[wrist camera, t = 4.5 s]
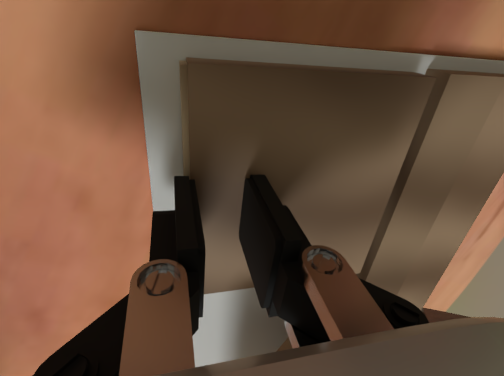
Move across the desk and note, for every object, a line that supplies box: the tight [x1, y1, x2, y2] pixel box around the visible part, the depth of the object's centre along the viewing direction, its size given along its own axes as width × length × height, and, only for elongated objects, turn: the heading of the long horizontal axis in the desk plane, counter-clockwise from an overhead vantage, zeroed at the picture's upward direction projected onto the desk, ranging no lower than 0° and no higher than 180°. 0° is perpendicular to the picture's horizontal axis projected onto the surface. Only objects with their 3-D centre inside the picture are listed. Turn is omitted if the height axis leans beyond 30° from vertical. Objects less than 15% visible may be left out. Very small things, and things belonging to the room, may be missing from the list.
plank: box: [179, 57, 436, 294], centre depth 13 cm, size 10×9×1 cm
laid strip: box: [356, 69, 504, 310], centre depth 18 cm, size 22×6×1 cm, turn 175°
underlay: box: [135, 30, 504, 367], centre depth 17 cm, size 23×17×1 cm
